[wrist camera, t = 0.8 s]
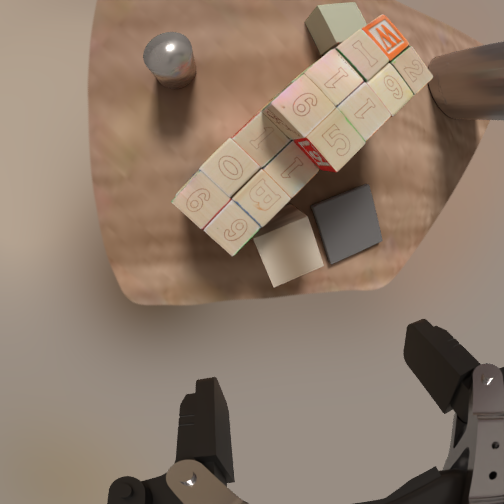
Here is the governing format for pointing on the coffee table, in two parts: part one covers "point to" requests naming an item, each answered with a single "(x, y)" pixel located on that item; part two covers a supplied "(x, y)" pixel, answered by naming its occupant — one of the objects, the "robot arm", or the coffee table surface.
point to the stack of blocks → (303, 133)
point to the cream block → (288, 246)
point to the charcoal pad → (347, 223)
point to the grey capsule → (170, 59)
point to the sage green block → (334, 24)
